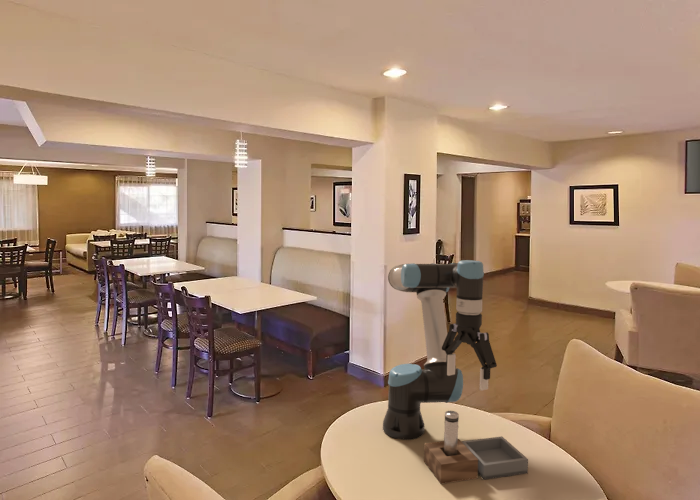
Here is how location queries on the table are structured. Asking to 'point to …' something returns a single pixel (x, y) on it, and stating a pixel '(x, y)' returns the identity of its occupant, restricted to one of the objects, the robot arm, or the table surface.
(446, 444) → the pin
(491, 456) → the tray
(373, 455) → the table surface
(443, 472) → the wooden square socket block
